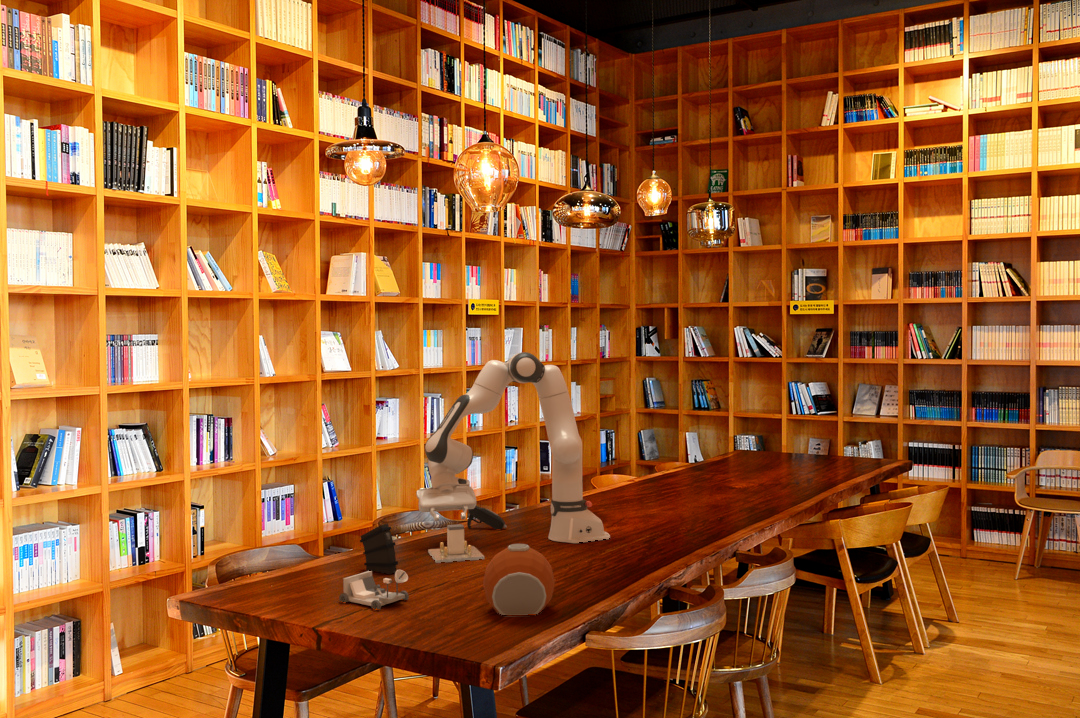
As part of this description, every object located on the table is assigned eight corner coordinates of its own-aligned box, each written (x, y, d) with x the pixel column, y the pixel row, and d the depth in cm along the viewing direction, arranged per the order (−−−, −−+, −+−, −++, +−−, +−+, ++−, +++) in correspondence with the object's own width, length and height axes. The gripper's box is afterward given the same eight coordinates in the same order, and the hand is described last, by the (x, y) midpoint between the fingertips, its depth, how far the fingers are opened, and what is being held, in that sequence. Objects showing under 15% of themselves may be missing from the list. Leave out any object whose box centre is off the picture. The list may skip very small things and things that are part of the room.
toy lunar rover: (415, 568, 246) (385, 577, 236) (416, 603, 246) (386, 614, 236) (368, 559, 256) (338, 568, 246) (369, 593, 256) (339, 603, 247)
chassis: (473, 548, 309) (473, 537, 309) (484, 559, 294) (484, 547, 294) (428, 552, 305) (427, 540, 305) (436, 563, 290) (436, 550, 289)
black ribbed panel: (396, 571, 273) (380, 525, 277) (369, 584, 280) (354, 538, 284) (404, 568, 276) (389, 522, 280) (378, 581, 283) (363, 536, 287)
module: (461, 550, 302) (461, 524, 302) (464, 553, 298) (464, 526, 298) (447, 551, 301) (447, 525, 301) (449, 554, 297) (449, 527, 297)
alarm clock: (553, 600, 246) (553, 537, 246) (556, 619, 229) (556, 552, 229) (484, 601, 246) (483, 538, 246) (482, 621, 228) (481, 553, 228)
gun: (497, 544, 340) (508, 522, 339) (460, 524, 343) (471, 501, 342) (498, 543, 343) (510, 520, 342) (462, 522, 346) (473, 500, 345)
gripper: (416, 483, 312) (421, 516, 303) (473, 479, 318) (480, 512, 309) (414, 494, 316) (419, 526, 307) (470, 490, 322) (477, 522, 313)
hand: (450, 519), depth 308 cm, fingers open, 8 cm apart
